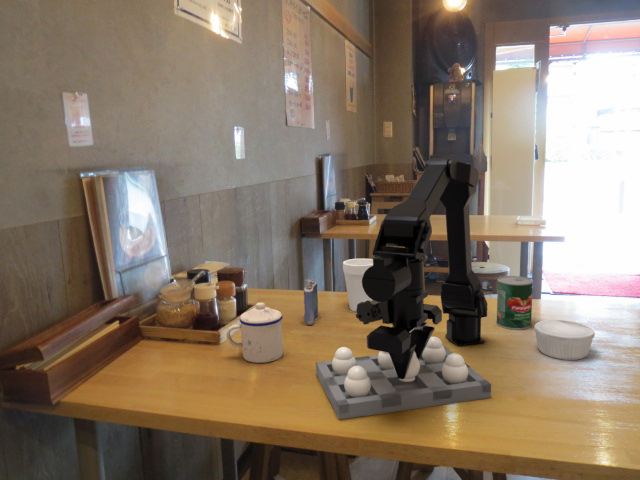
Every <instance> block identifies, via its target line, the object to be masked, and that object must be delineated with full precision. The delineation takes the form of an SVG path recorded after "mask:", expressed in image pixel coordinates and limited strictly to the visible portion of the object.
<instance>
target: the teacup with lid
mask: <svg viewBox="0 0 640 480" xmlns="http://www.w3.org/2000/svg"><path fill="white" fill-rule="evenodd" d="M282 319H283V315H282V312H281V311H279V310H278V309H274V308H271V307H268V306H266V304H265V302H256V304H255V307H253V308H251V309H249V310H248V311H245V312H243V313H241V315H240V318H239V323H240V324H233V325H230V326H229V328H228V329H227V331H226V339H227V341H228V343H229V344H230V345H231V346H232V347H235V348H242V356H243V358H244V360H245V361H248V362H249V363H254V364H266V363H270V362H273V361H276V360H279V359H281V357H283V355H284V344H283V343H284V342H283V324H282ZM237 329H240V330H241V342H236V341H234V340H233V339H232V337H231V332H232V331H233V330H237Z"/></svg>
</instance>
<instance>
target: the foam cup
mask: <svg viewBox="0 0 640 480" xmlns="http://www.w3.org/2000/svg"><path fill="white" fill-rule="evenodd" d="M371 266H373V258H364V257H363V258H360V257H359V258H352V259H351V258H350V259H346V260H344V261H343V262H342V272H343V274H344V280H345V286H346V287H345V288H346V293H347V299H348V306H349V309H350V311H352V312H356V313H357V311H356V309H357V304H359V303H361V302H365V301H367V300H369V301H373V300H372V299H371V298H369V297H368V296H367V295H366V293H365V291H364V289H363V287H362V278H363V275H364V273H365V271H366V270H367V269H368V268H369V267H371Z"/></svg>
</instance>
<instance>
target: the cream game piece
mask: <svg viewBox="0 0 640 480" xmlns="http://www.w3.org/2000/svg"><path fill="white" fill-rule="evenodd" d="M393 368H394V365H393ZM419 370H420V362H419V360H418V358H417V357H416V353H415V351H414V353H413V356H412V359H411V362H410V365H409V368H408V371H407V374H406V376H405V378H404V379H399V380H400V381H403V382H412V381H414V380H415V376H416V375H417V374H418V372H419ZM394 371H395V368H394ZM395 373H396V371H395ZM396 374H397V373H396Z"/></svg>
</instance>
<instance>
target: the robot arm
mask: <svg viewBox="0 0 640 480" xmlns="http://www.w3.org/2000/svg"><path fill="white" fill-rule="evenodd" d="M479 180H480V179H479V170H478V168H476V167H475V166H473V164H472V163H471V162H469V163H464V162H460V161H457V160H456V159H452V158H451V157H442V158H440V157H439V158H438V157H437V158H435V157H434V158H430V159H428V160H427V159H426V161H425V165H424V170H423V172H422V173H421V175H420V176H419V178H418V180H417V182H416V183H415V185H414V187H413V188H412V189H411V191H410V193H409V195H408V196H407V198H406V200H405V201H403V202H400V203H398V204H397V205H394V206H393V207H392V208H391V209H390V210H389V211H388V213H387V214H385V215H384V218H383V220H381V224H380V226H379V229H378V230H379V231H378V233H377V237H376V239H375V244H374V246H373V247H374V248H373V250H372V256H375V257H373V258H372V259H373V266H371V267H369V268H368V269H367V270H366V271H365V273H364V275H363V278H362V287H363V289H364V291H365V293H366V295H367V296H368V297H369V298H371V299H372V300H373V301H369V300H367V301H365V302H361V303H359V304H357V309H356V311H357V312H356V315H355V318H357V319H358V321H359V322H362V323H363V325H369V324H370V323H373V322H377V321H382V324H385V325H379V326H378V327H376V328H375V329H373V330H372V331H371V332H370V333H368V334H367V335H366V348H367V349H369V350H374V351H379V352H380V351H383V352H388V353H389V355H390V357H391V360H392V362H393V365H394V368H395V371H396V373H397V376H398V378H399V379H404V378H405V376H406V374H407V371H408V368H409V365H410V362H411V359H412V356H413V353H414V351H415V353H416V357H417V358H418V360H420V358H421V356H422V354H423V351H424V349H425V347H426V345H427V343H428V341H429V339H430V337H432V336H433V333H434V332H435V329H436V328H435V327H434V326H430V325H428V322H426V321H428V320H431V322H432V324H433V325H436V326H437V325H438V324H440V322H442V320H443V314H444V315H446V314H447V315H448V319H446V334H445V336H444V337H445V338H447V339H448V340H450V341H451V342H452V343H453V344H454V345H456V346H459V347H463V346H469V345H476V344H477V345H478V344H484V343H485V339H483V338H482V337H481V333H482V331H481V329H482V318H487V317H488V302H487V299H486V297H485V295H484V292H483V291H482V287H481V286H482V285H481V279H480V278H479V277H478V276H477V275H476V273H475V271H474V270H473V267H472V266H473V265H472V247H471V246H472V244H471V224H470V203H471V202H472V200H473V198H474V196H475V194H476V192H477V186H478V184H479ZM438 202H440V203H441V205H442V206H443V207H444V209H445V227H446V241H447V257H448V259H447V260H448V275H447V277H446V278H445V280H444V282H443V283H442V285H441V288H440V289H441V291H440V303H441V308H440V307H439V306H438V305H436V304H431V303H430V304H428V303H424V299H426V298H427V297H428V290H426V289H424V257H425V256H426V255H427V252H426V251H427V247H428V244H429V242H430V239H431V236H432V232H433V227H432V223H431V216H432V214H433V212H434V210H435V208H436V206H437V204H438ZM389 324H391V325H392V326H386V325H389Z"/></svg>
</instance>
